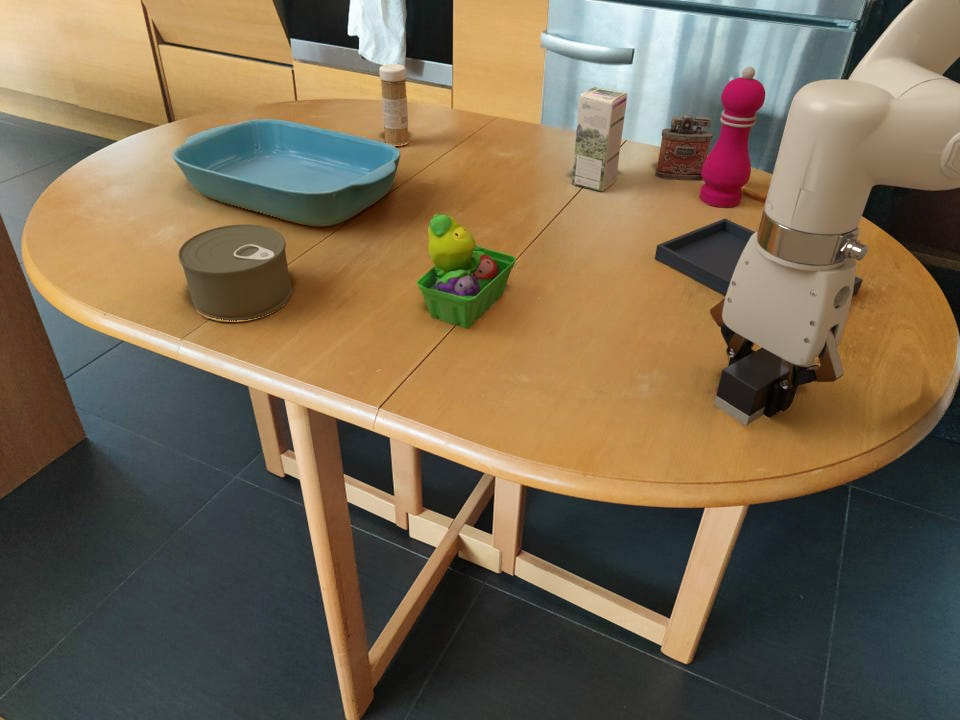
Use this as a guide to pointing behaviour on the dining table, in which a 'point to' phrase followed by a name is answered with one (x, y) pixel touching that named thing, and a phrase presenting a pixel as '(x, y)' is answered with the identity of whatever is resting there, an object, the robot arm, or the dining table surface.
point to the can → (236, 271)
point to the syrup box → (598, 138)
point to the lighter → (684, 149)
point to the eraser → (748, 385)
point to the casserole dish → (289, 169)
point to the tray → (711, 254)
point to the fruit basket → (461, 274)
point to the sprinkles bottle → (394, 103)
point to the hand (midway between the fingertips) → (755, 397)
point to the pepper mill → (732, 142)
